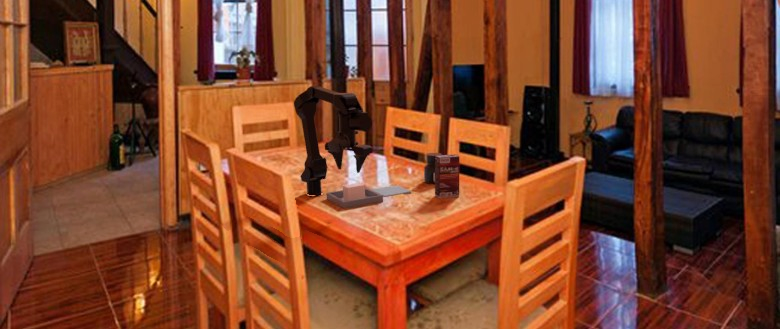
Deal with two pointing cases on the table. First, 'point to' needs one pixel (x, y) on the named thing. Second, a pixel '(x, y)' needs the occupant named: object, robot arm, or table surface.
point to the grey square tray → (369, 199)
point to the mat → (391, 190)
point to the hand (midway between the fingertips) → (348, 170)
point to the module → (353, 191)
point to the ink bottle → (430, 168)
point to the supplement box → (447, 176)
